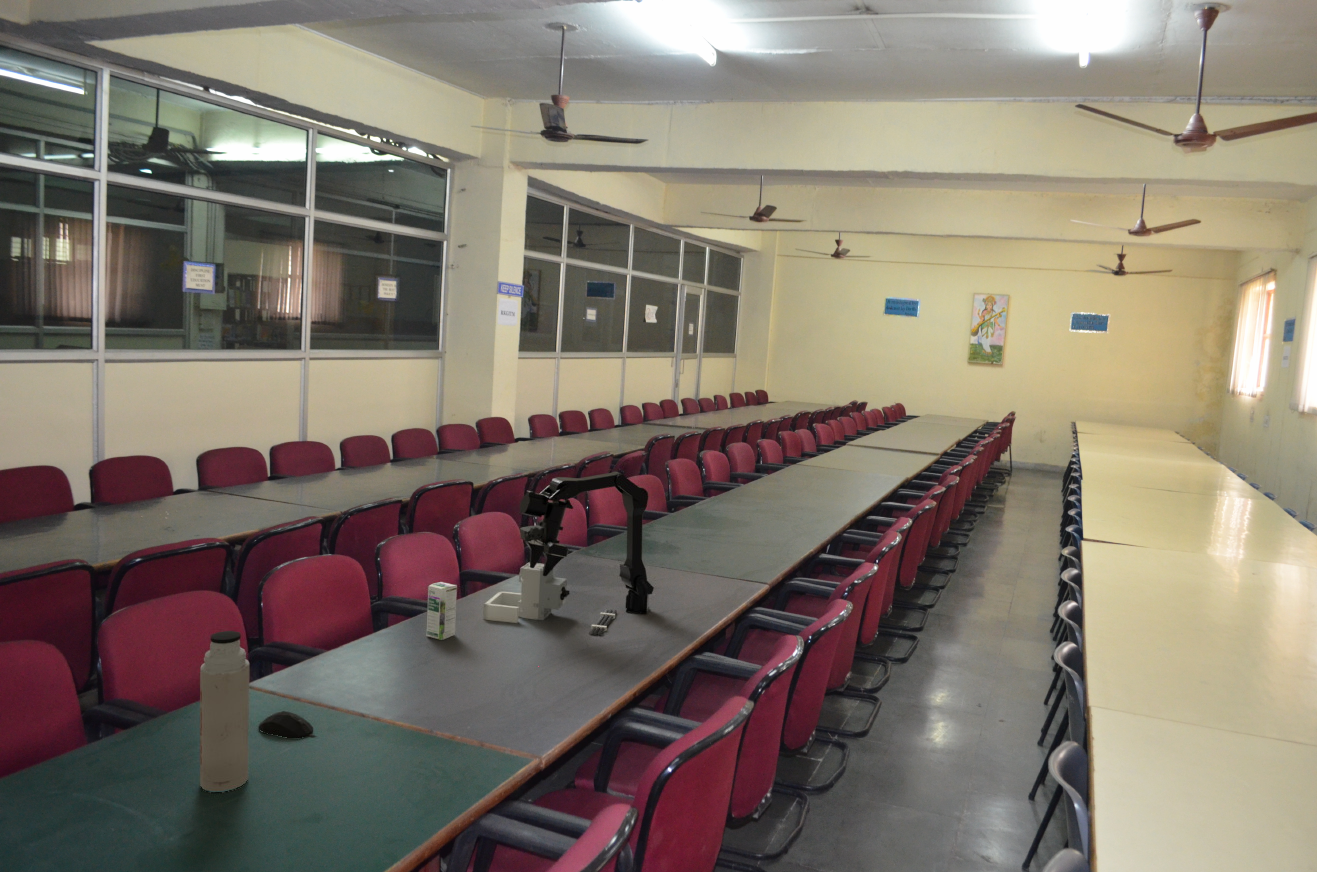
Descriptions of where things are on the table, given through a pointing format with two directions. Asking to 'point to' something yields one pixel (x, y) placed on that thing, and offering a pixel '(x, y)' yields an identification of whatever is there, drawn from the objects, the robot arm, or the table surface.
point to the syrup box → (441, 610)
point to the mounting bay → (502, 607)
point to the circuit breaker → (540, 592)
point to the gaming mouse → (286, 725)
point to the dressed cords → (602, 626)
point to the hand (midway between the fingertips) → (537, 571)
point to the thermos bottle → (224, 714)
